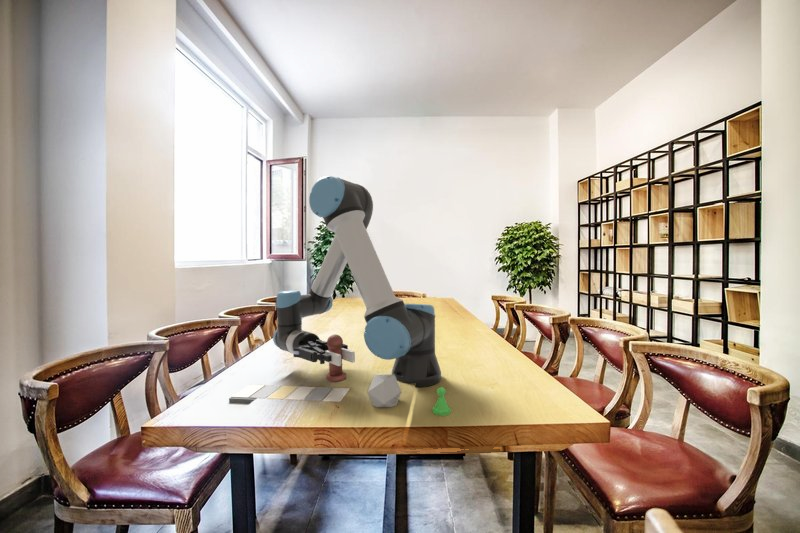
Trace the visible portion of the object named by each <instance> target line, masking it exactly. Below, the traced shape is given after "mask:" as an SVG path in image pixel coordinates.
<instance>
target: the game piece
mask: <svg viewBox="0 0 800 533" xmlns="http://www.w3.org/2000/svg"><path fill="white" fill-rule="evenodd" d="M446 391H447V390H446V389H445V388H444V387H443V386H440V387H438V388H436V394H437V395H438V397H437V400H436V403H435V405H434V406H433V407H432V408H431V409H432V412H433V414H434V415H436V416H448V415H449V414H450V413H451V408H450V407H449V406H448V403H447V401H446V398H445V395H446V393H447V392H446Z"/></svg>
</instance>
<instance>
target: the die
mask: <svg viewBox="0 0 800 533" xmlns="http://www.w3.org/2000/svg"><path fill="white" fill-rule="evenodd" d="M398 382H399V381H397V379H396V377H395V374H393V375H392V374H374V375H373V378H372V380H371V383H370V385H369V387H368V390H367V395H368V398H369V400H370V402H371V405H372V406H373V407H376V408H392V407H394V406H397V405H398V403H399V399H400V396H401V394H402V390H401V387H400V385H399V383H398Z"/></svg>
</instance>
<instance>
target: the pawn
mask: <svg viewBox="0 0 800 533" xmlns="http://www.w3.org/2000/svg"><path fill="white" fill-rule="evenodd" d="M326 342H327V346H328V348H329V351H331V352H334V353H337V354H340V355H341V366H337V365H334V364H331V363H329V362H328V369H329V370H328V372H327V373H326V374H325V380H326V382H329V383H338V382H343V381H345V380H346V379H347V373H346V372H345V371H343V359H342V345H343V344H344V340H343V337H342V336H341V335H339V334H336V333H335V334H331V335H330V336H329V337H328V338H327V340H326Z"/></svg>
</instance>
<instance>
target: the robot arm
mask: <svg viewBox="0 0 800 533" xmlns="http://www.w3.org/2000/svg"><path fill="white" fill-rule="evenodd" d="M310 190H311V192H310V193H309V198H308V200H309V201H308V203H309V208H310V210H311V211H312V213H313V214H314V215H316V216H317V217H319V218H322V219H323V221H324V223H325V225H326V228H327V230H328V231H329V232H332V233H334V234H335V235H334V237H333V239H332V242H331V243H330V246H329V248H328V250H327V252H326V255H325V257H324V259H323V261H322V263H321V265H320V268H319V269H318V272H317V274H316V277H314V278H315V279H314V281H313V283H312V285H311V287H310V289H309V292H308V293H307V294H302V293H301V291H300V290H282V291H279V292H277V294H276V302H275V303H276V304H275V307H276V318H277V326H276V327H277V328H276V330H275V331H274V333H273V336H272V340H273V343H274V345H275V346H276V347H277V348H278V349H280V350H282V351H283V352H284V351H285V352H288V353H291V354H293V358H298V359H299V358H300V359H302V360H306V361H309V362H312V363H317V362H318V361H319V363H320V365H325V362H327V363H328V364H329V363H331V364H334V365H337V366H341V355H340V354H337V353H334V352H331V351H329V348H328V346H327V341H326V340H321V339H320V337H319V336H318V335H317V334H316V333H312V332H309V331H306V330H303V329H302V326H303V325H302V324H303V323H302V322H303V318H306V317H311V316H316V315H321V314H324V313H327V312H329V311H330V310H331V309H332V307H333V298H332V295H333V293H334V290H335V289H336V286H337V284H338V282H339V281H340V278H341V276H342V273H343V272H344V270H345V268H346V265H348V268H349V270H350V273H351V275H352V277H353V280H354V281H355V285H356V287H357V289H358V292H359V294H360V296H361V299H362V301H363V304H364V306H365V308H366V310H365V312H364V315H363V317H364V320H365V323H366V325H365V327H364V332H363V338H364V342H365V346H366V347H367V349H368V350H369V351H370V353H371V354H373V355H374V356H376V357H377V358H380V359H382V360H385V361H387V360H388V361H391V360H394V364H393V367H392V370H391V375H393V374H395V377H396V379H397V382H401V383H405V384H414V387H415V388H422V387H423V388H424V387H429V386H430V387H431V386H433V385H437V384H438V383H440V382H441V380H442V370H441V367H440V365H439V362H438V358H437V355H436V313H435V307H434V306H433V305H432V304H423V303H405V302H404V300H403V299H402V298H399V297H397V296H396V295H395V292H394V291H393V288H392V285H391V283H390V281H389V279H388V277H387V275H386V272H385V270H384V267H383V266H382V263H381V260H380V259H379V258H380V257H379V256H378V254H377V252H376V250H375V249H376V248H375V246H374V244H373V243H372V240H371V237H370V236H369V233H368V230H367V229H368V227H369V225H370V222H371V219H372V216H373V211H374V202H373V197H372V195H371V193H370V191H368V189H367V188H365V187H364V186H363V185H360V184H358V183H353V182H351V181H348V180H345V179H344V178H340V177H339V176H332V175H326V176H323V177H320V178H319V179H317V181H315V183H314V184H313V186H312V187H311V189H310ZM348 347H349V346H348V344H344V343H343V345H342V361H346V362H350V363H356V354H355V351H354V350H351V349H349V348H348Z"/></svg>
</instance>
